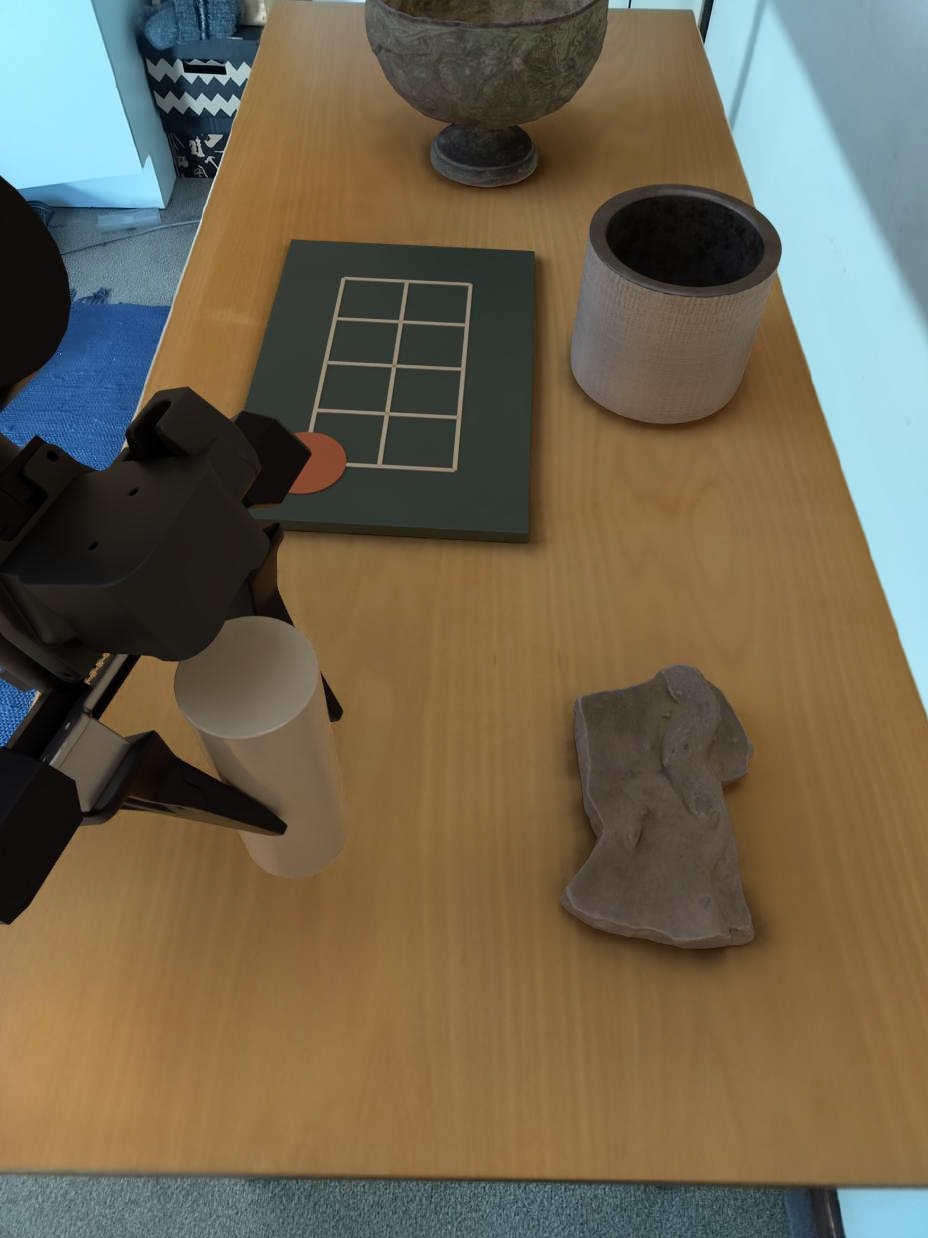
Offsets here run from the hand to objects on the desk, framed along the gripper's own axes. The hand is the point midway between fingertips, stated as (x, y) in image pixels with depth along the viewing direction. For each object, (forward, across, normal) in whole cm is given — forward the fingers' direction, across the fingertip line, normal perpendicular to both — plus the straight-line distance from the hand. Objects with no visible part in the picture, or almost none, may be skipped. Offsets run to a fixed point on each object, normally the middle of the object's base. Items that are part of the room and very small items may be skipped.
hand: (308, 773), depth 34 cm
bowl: (-1, +67, +21) cm, 70 cm away
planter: (+14, +43, +6) cm, 46 cm away
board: (+2, +36, +18) cm, 40 cm away
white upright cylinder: (+4, 0, +6) cm, 7 cm away
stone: (+20, +9, 0) cm, 22 cm away
